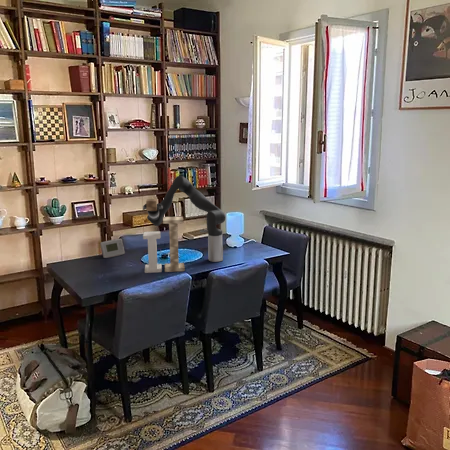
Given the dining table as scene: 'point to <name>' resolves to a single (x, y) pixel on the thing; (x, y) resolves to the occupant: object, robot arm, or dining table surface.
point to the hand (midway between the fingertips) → (152, 202)
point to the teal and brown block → (151, 204)
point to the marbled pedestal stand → (173, 244)
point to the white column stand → (152, 252)
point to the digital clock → (112, 248)
